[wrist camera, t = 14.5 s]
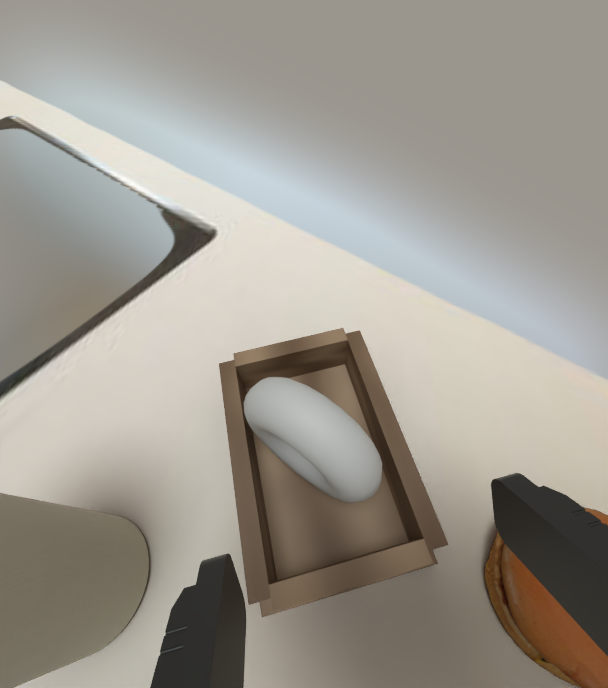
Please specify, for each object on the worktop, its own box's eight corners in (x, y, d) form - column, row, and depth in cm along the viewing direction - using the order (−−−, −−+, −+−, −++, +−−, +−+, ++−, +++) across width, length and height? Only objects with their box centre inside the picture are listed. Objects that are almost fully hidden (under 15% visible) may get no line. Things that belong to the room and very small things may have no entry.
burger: (470, 633, 21) (506, 651, 17) (494, 486, 25) (527, 472, 21) (661, 737, 18) (756, 788, 14) (650, 552, 22) (721, 551, 18)
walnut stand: (352, 352, 32) (356, 320, 27) (433, 563, 22) (458, 564, 18) (231, 381, 31) (216, 353, 26) (264, 614, 21) (249, 629, 17)
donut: (380, 480, 24) (410, 440, 16) (355, 523, 23) (373, 504, 15) (276, 405, 28) (255, 340, 20) (248, 438, 27) (213, 383, 18)
